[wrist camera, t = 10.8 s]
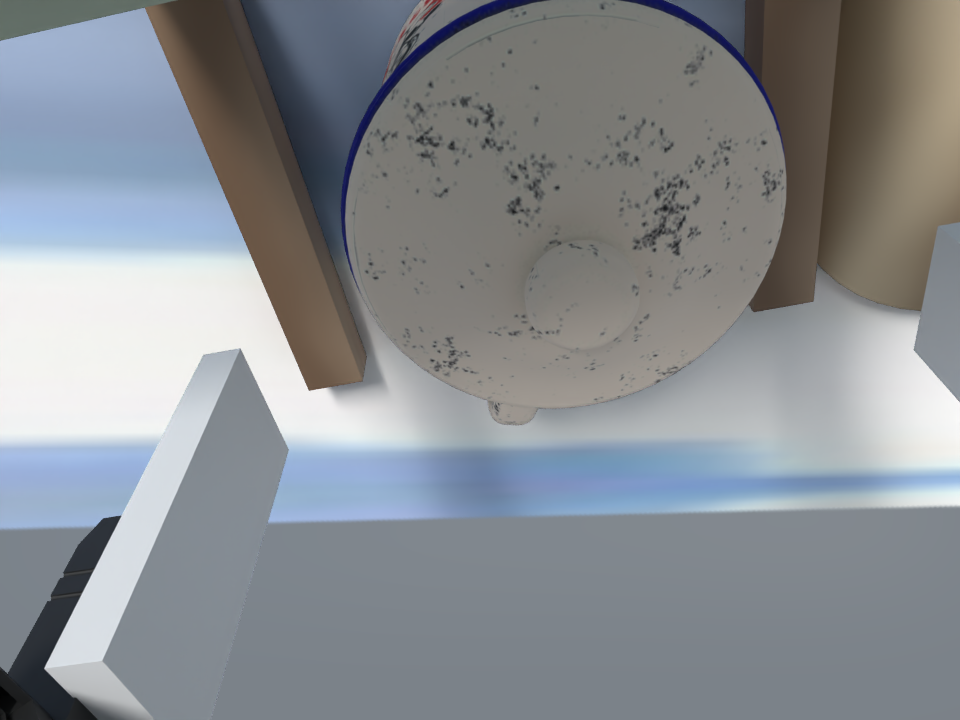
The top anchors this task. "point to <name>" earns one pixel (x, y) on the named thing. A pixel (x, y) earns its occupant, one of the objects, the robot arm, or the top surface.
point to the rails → (291, 216)
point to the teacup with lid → (561, 196)
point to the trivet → (891, 147)
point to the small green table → (59, 13)
